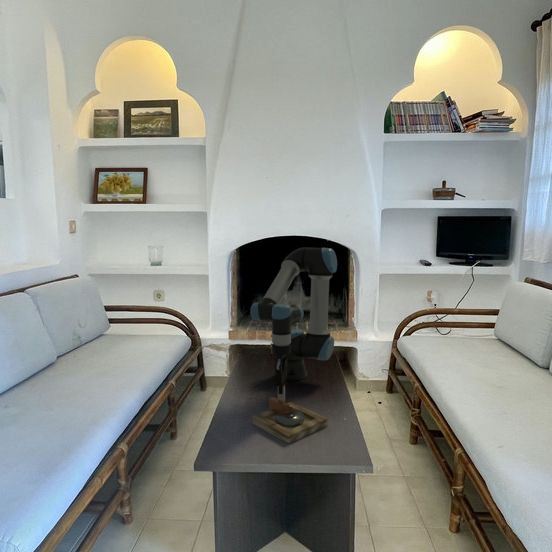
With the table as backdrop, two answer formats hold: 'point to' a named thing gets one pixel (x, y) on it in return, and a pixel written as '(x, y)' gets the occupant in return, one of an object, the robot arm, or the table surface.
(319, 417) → the panel
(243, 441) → the table surface
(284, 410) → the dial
